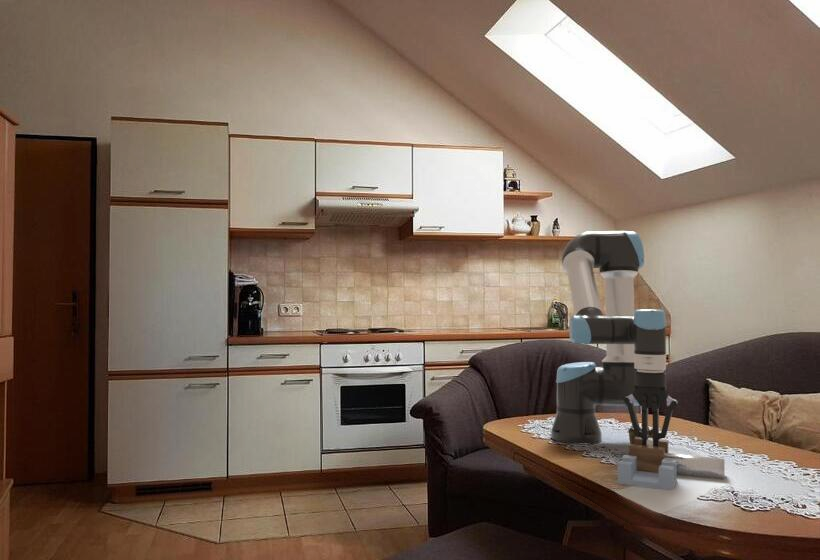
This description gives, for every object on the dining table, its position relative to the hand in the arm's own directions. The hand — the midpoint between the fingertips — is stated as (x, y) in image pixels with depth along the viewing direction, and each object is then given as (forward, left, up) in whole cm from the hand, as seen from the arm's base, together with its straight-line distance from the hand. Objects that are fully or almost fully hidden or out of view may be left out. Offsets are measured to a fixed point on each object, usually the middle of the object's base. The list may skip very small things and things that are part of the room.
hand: (650, 465), depth 165 cm
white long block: (0, +9, +1) cm, 9 cm away
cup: (-11, -3, -2) cm, 12 cm away
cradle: (+11, +1, -2) cm, 11 cm away
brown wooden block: (0, 0, -2) cm, 2 cm away
